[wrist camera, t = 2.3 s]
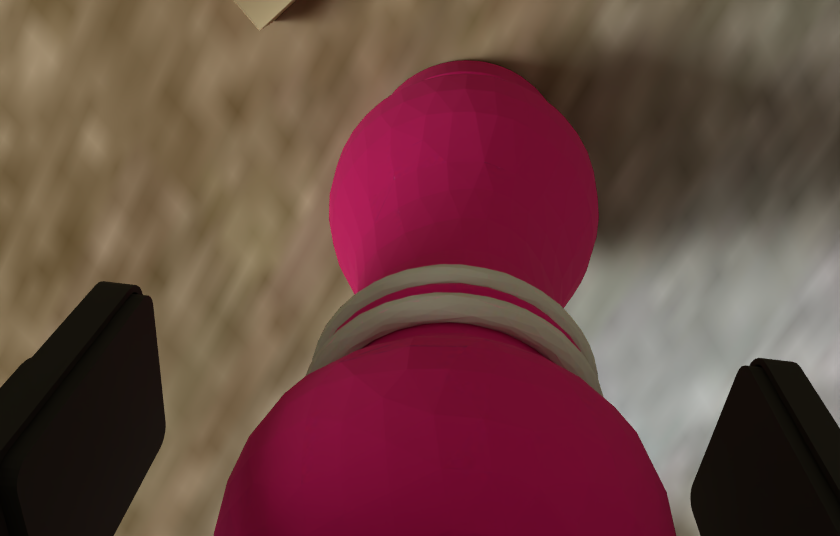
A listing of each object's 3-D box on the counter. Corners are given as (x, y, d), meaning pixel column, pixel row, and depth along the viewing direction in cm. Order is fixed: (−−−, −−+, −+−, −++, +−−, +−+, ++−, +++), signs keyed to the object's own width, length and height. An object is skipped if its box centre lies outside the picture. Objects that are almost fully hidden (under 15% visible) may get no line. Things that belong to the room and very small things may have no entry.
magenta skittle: (530, 1, 21) (772, 590, 4) (608, 210, 24) (953, 1101, 6) (317, 99, 23) (-214, 803, 5) (412, 282, 26) (268, 1128, 8)
